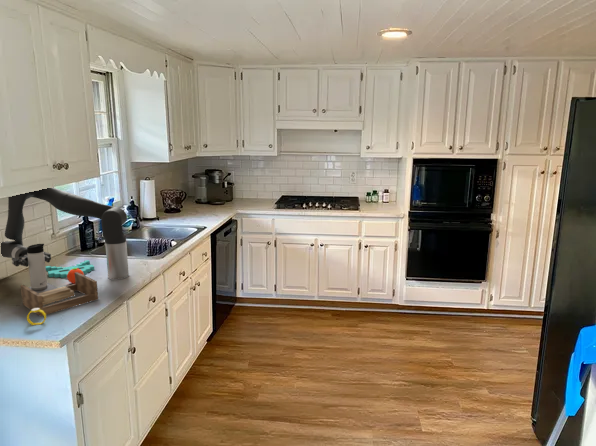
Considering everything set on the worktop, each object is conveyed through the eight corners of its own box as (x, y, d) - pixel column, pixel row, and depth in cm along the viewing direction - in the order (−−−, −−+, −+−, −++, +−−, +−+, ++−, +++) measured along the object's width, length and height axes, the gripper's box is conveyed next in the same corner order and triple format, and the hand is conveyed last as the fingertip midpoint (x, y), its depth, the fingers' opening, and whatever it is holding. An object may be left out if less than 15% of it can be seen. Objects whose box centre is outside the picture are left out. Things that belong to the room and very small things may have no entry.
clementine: (67, 281, 203) (65, 266, 202) (83, 279, 207) (82, 264, 205) (68, 286, 197) (67, 271, 195) (85, 284, 200) (84, 269, 199)
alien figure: (45, 270, 219) (51, 282, 203) (45, 266, 219) (50, 277, 203) (89, 264, 231) (97, 274, 215) (88, 260, 230) (97, 270, 214)
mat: (21, 289, 192) (21, 288, 192) (48, 283, 201) (47, 282, 201) (31, 296, 186) (31, 295, 185) (58, 288, 194) (58, 288, 194)
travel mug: (46, 290, 191) (41, 245, 187) (29, 291, 189) (24, 246, 185) (50, 285, 197) (45, 242, 193) (34, 286, 195) (29, 243, 191)
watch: (27, 327, 158) (24, 312, 156) (30, 324, 160) (26, 309, 159) (45, 324, 159) (42, 309, 158) (48, 321, 162) (45, 306, 160)
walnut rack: (22, 304, 177) (20, 285, 175) (78, 289, 194) (77, 272, 192) (40, 316, 166) (38, 296, 164) (98, 299, 183) (96, 281, 181)
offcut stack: (36, 303, 179) (35, 294, 178) (68, 293, 190) (67, 285, 189) (42, 306, 176) (41, 297, 175) (74, 296, 187) (74, 287, 186)
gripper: (4, 250, 193) (18, 257, 183) (39, 244, 204) (54, 250, 194) (7, 266, 195) (21, 274, 185) (41, 259, 205) (56, 266, 195)
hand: (38, 262), depth 189 cm, fingers open, 8 cm apart
